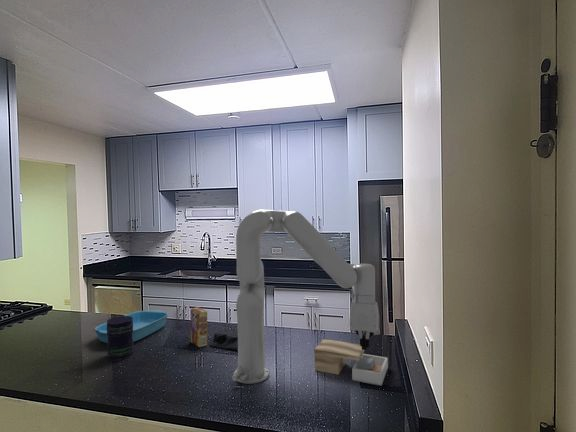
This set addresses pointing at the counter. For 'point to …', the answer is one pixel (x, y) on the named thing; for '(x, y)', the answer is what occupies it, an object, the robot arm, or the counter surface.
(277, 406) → the counter surface
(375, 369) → the terracotta tile
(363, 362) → the slate tile
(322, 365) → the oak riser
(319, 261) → the robot arm
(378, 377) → the tray
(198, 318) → the candy box
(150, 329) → the casserole dish
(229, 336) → the black flat block
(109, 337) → the storage jar
